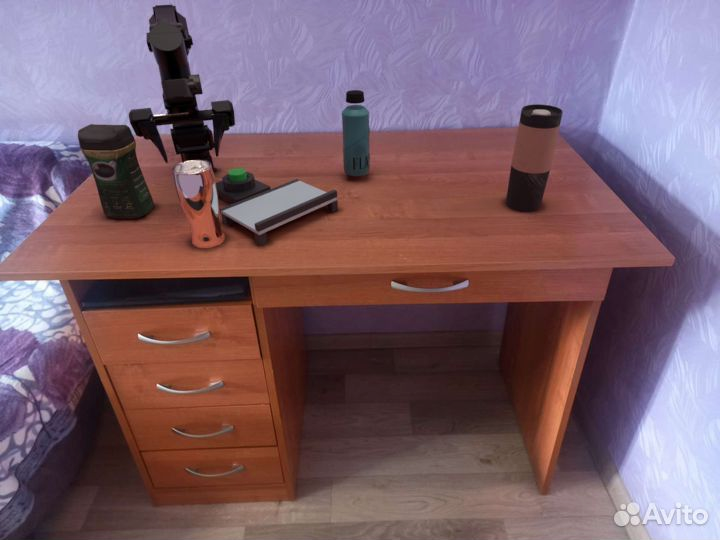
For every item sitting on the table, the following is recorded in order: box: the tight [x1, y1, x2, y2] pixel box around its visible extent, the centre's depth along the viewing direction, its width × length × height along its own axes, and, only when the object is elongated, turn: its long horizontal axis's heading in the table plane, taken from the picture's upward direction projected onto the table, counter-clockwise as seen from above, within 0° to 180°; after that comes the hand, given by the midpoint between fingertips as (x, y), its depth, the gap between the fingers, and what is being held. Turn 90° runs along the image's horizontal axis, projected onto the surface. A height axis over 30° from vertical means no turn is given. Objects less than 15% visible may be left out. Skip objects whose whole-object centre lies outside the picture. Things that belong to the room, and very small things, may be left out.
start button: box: [227, 167, 247, 182], centre depth 105 cm, size 4×4×2 cm
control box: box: [216, 171, 272, 205], centre depth 107 cm, size 11×9×4 cm
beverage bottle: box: [341, 89, 371, 177], centre depth 109 cm, size 6×7×20 cm
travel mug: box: [505, 103, 563, 213], centre depth 96 cm, size 8×8×20 cm
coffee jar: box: [77, 123, 155, 220], centre depth 96 cm, size 10×8×19 cm
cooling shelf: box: [219, 178, 339, 247], centre depth 97 cm, size 13×20×4 cm, turn 136°
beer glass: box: [171, 160, 226, 249], centre depth 87 cm, size 7×7×15 cm
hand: (192, 158), depth 90 cm, fingers open, 9 cm apart
